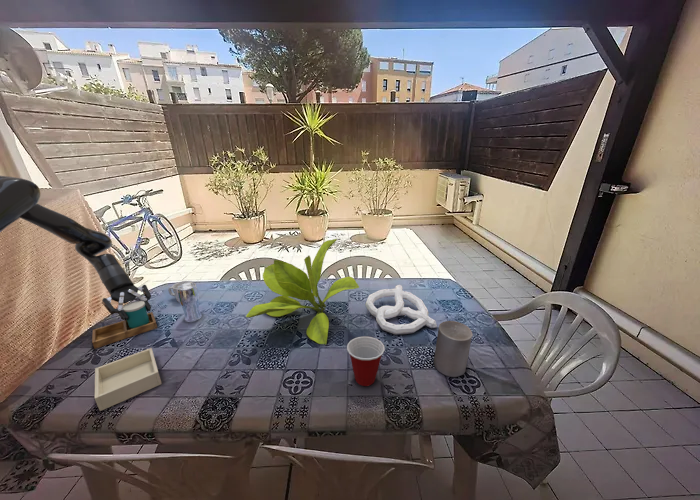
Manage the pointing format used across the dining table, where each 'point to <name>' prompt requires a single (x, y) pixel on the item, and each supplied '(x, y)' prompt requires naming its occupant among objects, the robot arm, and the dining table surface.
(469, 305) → the dining table surface
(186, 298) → the beer glass
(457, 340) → the pillar candle
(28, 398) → the dining table surface
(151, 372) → the shallow cream tray
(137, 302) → the container
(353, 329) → the dining table surface
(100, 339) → the brown wooden divided tray
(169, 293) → the cup
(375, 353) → the plastic cup
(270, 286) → the artificial plant
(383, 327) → the pretzel
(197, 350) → the dining table surface
